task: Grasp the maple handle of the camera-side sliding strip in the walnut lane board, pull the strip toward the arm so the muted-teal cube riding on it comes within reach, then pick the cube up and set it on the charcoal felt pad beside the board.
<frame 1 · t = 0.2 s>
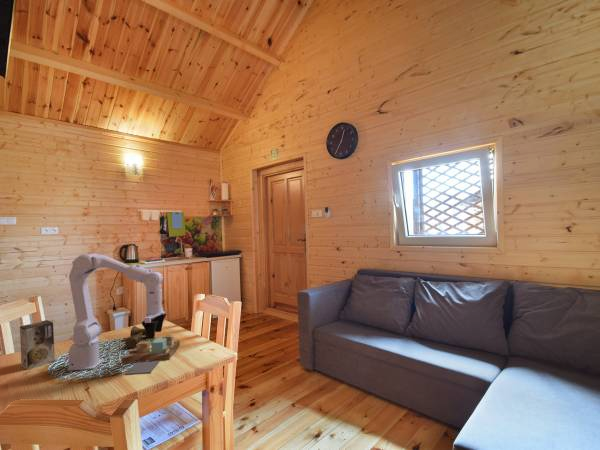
hand: (154, 335, 124), 10 cm above the table, fingers open, 7 cm apart
strip b: (159, 342, 134), point 4 cm above the table, slide at 0.0 cm
strip a: (153, 348, 127), point 4 cm above the table, slide at 0.0 cm, touching cube
felt pad: (142, 368, 117), on the table
lane board: (152, 353, 130), on the table
cube: (159, 351, 127), point 2 cm above the table, touching strip a
kendama: (139, 341, 146), on the table
coffee box: (38, 364, 124), on the table
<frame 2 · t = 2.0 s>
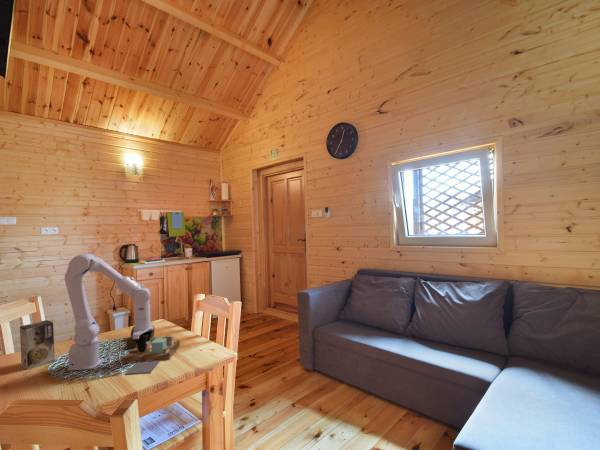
hand: (143, 350, 127), 3 cm above the table, fingers closed on strip a, 2 cm apart
strip a: (153, 348, 127), point 4 cm above the table, slide at 0.0 cm, touching cube, gripper
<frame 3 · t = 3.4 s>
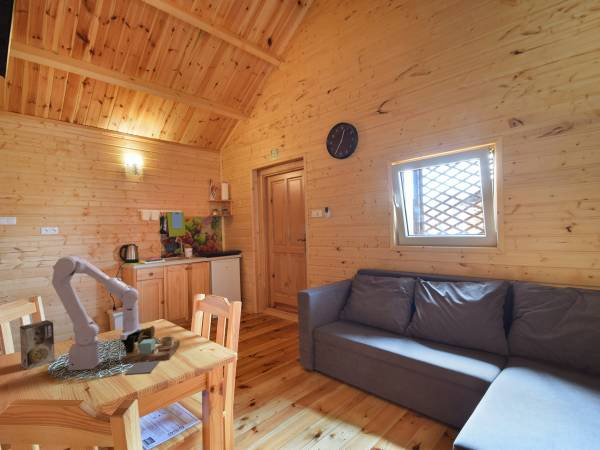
hand: (131, 350, 126), 3 cm above the table, fingers closed on strip a, 2 cm apart
strip a: (141, 348, 127), point 4 cm above the table, slide at 4.7 cm, touching cube, gripper
cube: (147, 352, 127), point 2 cm above the table, touching strip a
everything else where it was.
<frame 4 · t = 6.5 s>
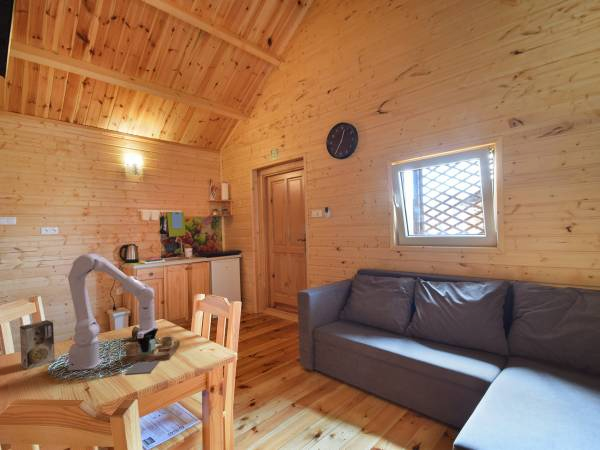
hand: (147, 349, 127), 3 cm above the table, fingers closed on cube, 4 cm apart
strip a: (141, 348, 127), point 4 cm above the table, slide at 4.7 cm, touching cube
cube: (147, 352, 127), point 2 cm above the table, touching gripper, strip a
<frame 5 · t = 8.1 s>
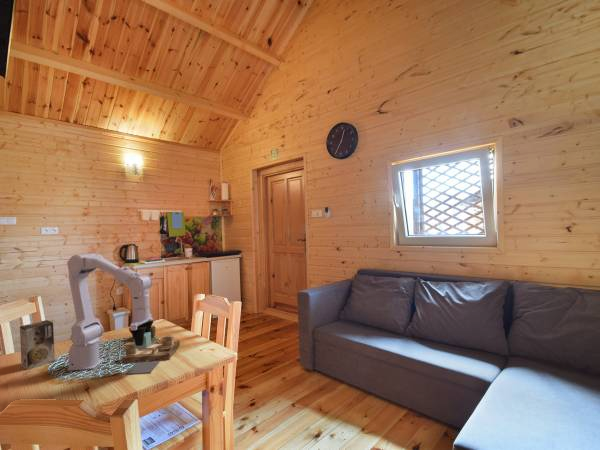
hand: (142, 342, 117), 10 cm above the table, fingers closed on cube, 4 cm apart
strip a: (141, 348, 127), point 4 cm above the table, slide at 4.7 cm
cube: (142, 346, 117), point 8 cm above the table, touching gripper
when the fingers open (3 cm above the table, at t = 9.8 s): cube drops 1 cm, resting on felt pad.
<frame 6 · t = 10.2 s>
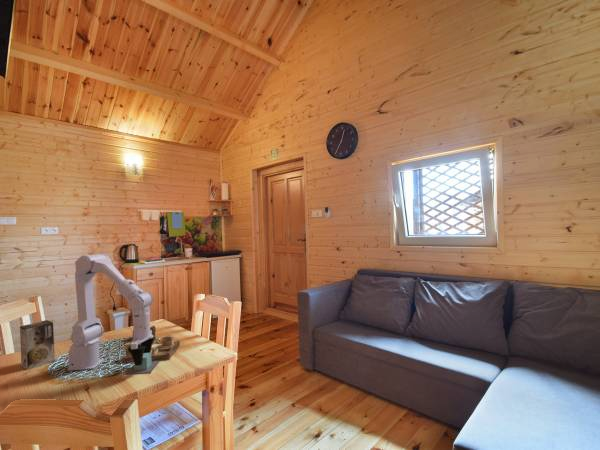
hand: (142, 360, 117), 3 cm above the table, fingers open, 7 cm apart
cube: (143, 367, 117), resting on felt pad
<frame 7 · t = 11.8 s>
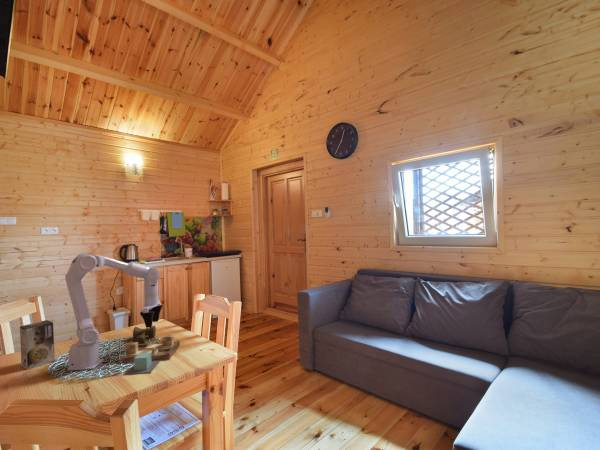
hand: (152, 324, 137), 10 cm above the table, fingers open, 7 cm apart
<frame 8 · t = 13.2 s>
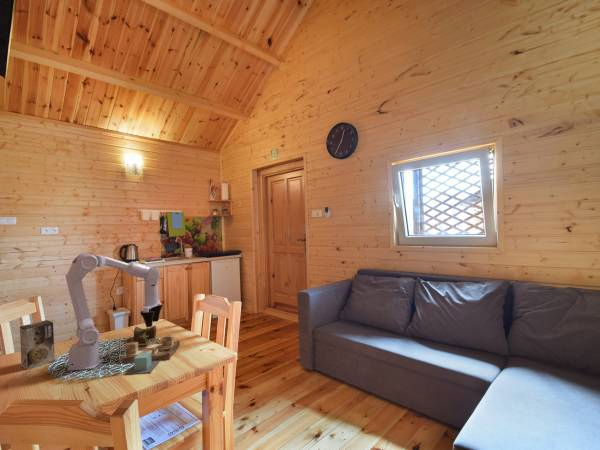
hand: (152, 324, 137), 10 cm above the table, fingers open, 7 cm apart
at the end: strip a slide at 4.7 cm; cube inside the target area on the felt pad (0.1 cm from its centre), point 0.4 cm above the felt pad's base; the gripper is holding nothing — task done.
